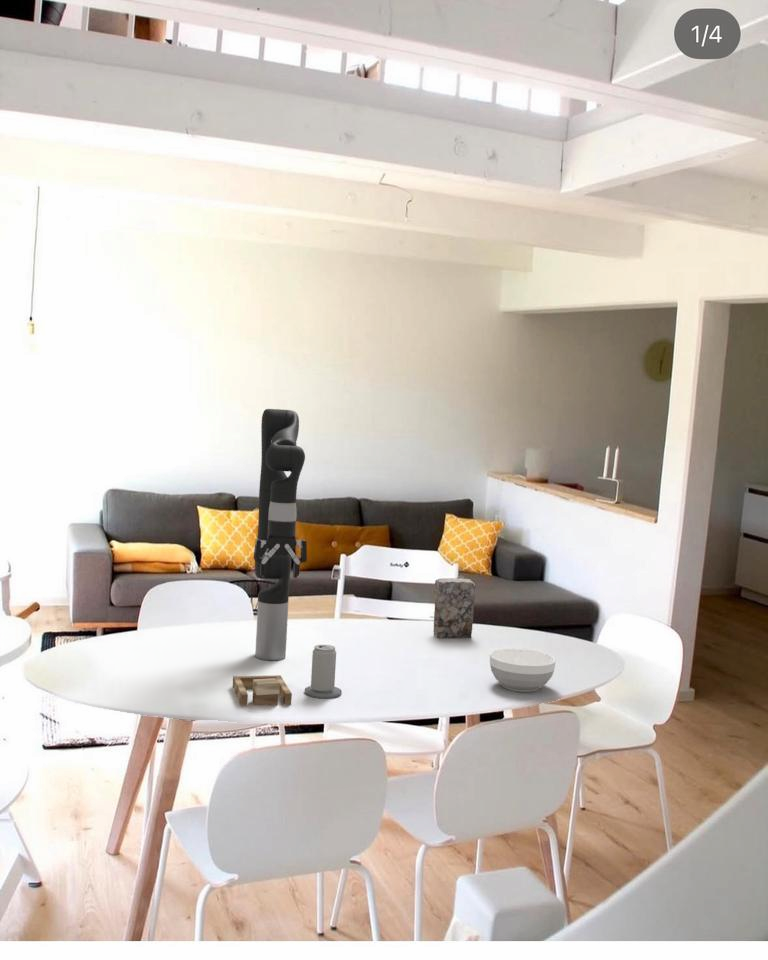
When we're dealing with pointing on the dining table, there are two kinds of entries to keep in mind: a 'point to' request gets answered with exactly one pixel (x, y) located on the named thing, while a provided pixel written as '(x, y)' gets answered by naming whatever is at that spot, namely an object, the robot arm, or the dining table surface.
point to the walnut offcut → (265, 699)
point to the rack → (247, 682)
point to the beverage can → (323, 668)
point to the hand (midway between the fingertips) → (279, 577)
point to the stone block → (454, 608)
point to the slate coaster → (333, 694)
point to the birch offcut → (266, 686)
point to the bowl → (522, 669)
